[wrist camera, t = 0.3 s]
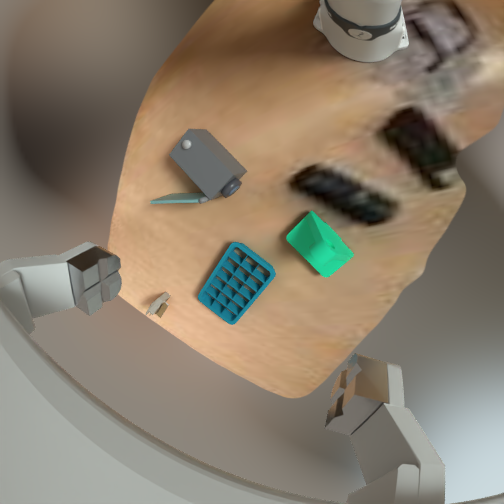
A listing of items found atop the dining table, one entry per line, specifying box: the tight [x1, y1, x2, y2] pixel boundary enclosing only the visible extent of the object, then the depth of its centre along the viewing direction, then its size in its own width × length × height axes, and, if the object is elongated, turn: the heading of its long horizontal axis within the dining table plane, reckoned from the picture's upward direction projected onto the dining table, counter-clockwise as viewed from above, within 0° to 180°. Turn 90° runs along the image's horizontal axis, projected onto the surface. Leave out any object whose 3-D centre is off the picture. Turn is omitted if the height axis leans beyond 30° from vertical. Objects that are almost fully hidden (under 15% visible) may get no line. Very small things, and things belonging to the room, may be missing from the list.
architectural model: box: [146, 292, 170, 318], centre depth 73 cm, size 3×7×7 cm, turn 144°
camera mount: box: [286, 210, 354, 277], centre depth 50 cm, size 12×8×10 cm, turn 50°
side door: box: [150, 193, 210, 204], centre depth 56 cm, size 13×1×8 cm, turn 93°
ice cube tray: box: [198, 242, 276, 325], centre depth 64 cm, size 12×20×3 cm, turn 147°
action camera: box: [169, 129, 247, 200], centre depth 52 cm, size 15×7×8 cm, turn 45°
